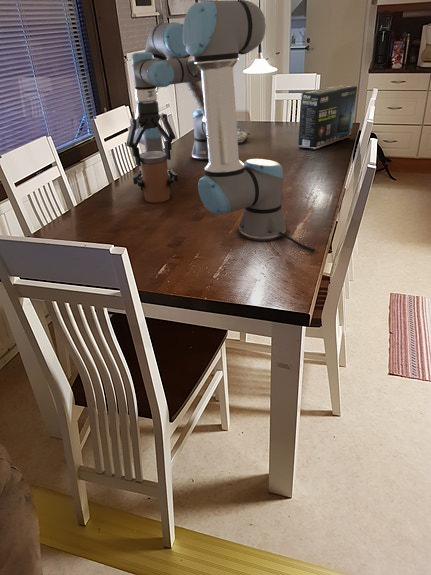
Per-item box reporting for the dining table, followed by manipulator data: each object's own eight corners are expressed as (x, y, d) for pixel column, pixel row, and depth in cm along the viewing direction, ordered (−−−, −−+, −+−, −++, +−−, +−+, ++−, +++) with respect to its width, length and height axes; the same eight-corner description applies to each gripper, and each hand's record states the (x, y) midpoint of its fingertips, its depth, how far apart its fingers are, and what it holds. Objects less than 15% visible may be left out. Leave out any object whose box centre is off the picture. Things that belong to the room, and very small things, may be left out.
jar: (154, 192, 187) (149, 152, 179) (174, 195, 183) (171, 154, 175) (139, 200, 179) (134, 159, 171) (161, 203, 175) (156, 161, 167)
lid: (144, 165, 167) (143, 160, 166) (135, 158, 176) (134, 153, 175) (171, 160, 171) (171, 155, 170) (161, 154, 179) (161, 149, 179)
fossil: (241, 138, 244) (222, 120, 247) (230, 154, 251) (212, 137, 254) (257, 136, 258) (239, 120, 261) (247, 152, 264) (229, 136, 267)
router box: (314, 151, 231) (318, 94, 217) (296, 148, 237) (299, 92, 224) (352, 138, 251) (358, 85, 238) (335, 135, 258) (340, 83, 245)
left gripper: (182, 175, 196) (186, 192, 177) (129, 179, 194) (127, 197, 175) (181, 158, 192) (184, 173, 173) (127, 161, 190) (124, 178, 171)
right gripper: (119, 107, 154) (128, 170, 166) (181, 98, 165) (186, 158, 177) (111, 104, 160) (120, 165, 171) (171, 96, 171) (176, 154, 182)
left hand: (155, 185), depth 174 cm, fingers closed on jar, 10 cm apart
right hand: (153, 162), depth 174 cm, fingers open, 12 cm apart
